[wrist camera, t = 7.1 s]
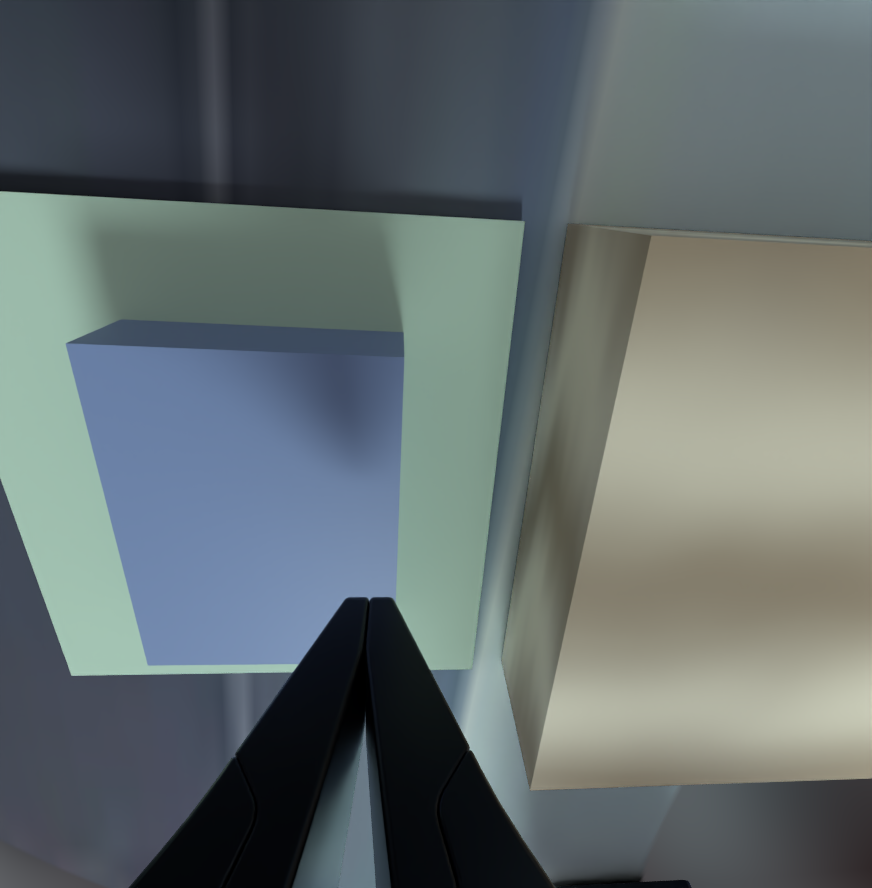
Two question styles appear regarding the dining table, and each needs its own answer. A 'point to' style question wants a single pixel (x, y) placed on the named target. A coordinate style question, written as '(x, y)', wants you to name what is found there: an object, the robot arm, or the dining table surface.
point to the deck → (699, 516)
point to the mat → (261, 304)
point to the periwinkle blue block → (245, 478)
